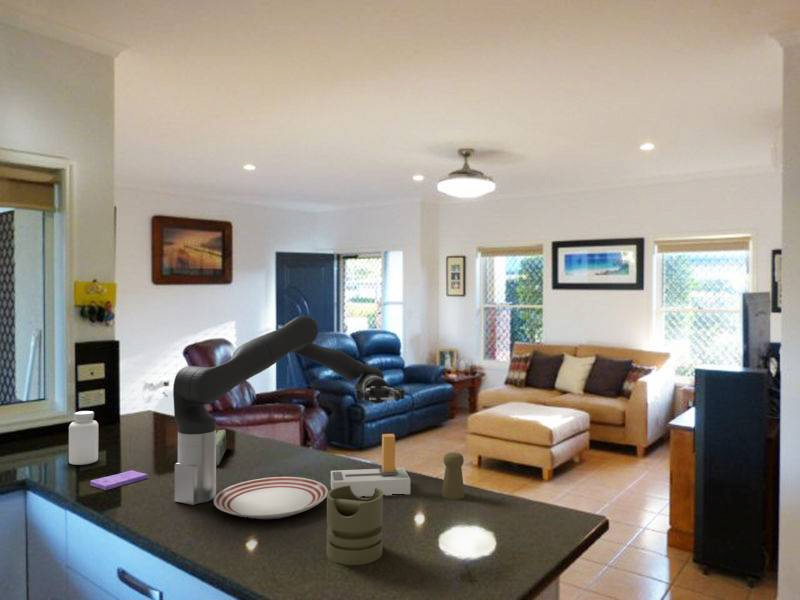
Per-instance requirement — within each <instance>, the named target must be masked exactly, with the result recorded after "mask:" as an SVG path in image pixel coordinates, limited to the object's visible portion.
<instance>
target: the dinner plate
mask: <svg viewBox="0 0 800 600" xmlns="http://www.w3.org/2000/svg"><path fill="white" fill-rule="evenodd" d="M328 492H329V489H328V488H327V486H326V485H325V484H324V483H321V482H320V481H317V480H314V479H310V478H305V477H299V476H298V477H297V476H275V477H264V478H263V477H262V478H258V479H257V478H256V479H249V480H245V481H241V482H239V483H236V484H233V485H229V486H228V487H225V488H224V489H222V490H220V491H219V492H218V493H216V496H215V498H214V499H213V504H214V506H215V507H216V509H218V510H220V511H221V512H224V513H227V514H229V515H234V516H237V517H242V518H247V517H248V518H249V519H254V518H256V519H257V520H273V519H283V518H288V517H292V516H295V515H297V514H300V513H303V512H306V511H308V510H310V509H312V508H314V507H316V506H317V505H319V504H320V503H322V502H323V501H324V500H325V499H327V493H328ZM256 519H255V520H256Z"/></svg>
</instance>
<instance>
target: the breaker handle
mask: <svg viewBox="0 0 800 600" xmlns="http://www.w3.org/2000/svg"><path fill="white" fill-rule="evenodd" d="M395 459H396V436H395V434H394V433H382V435H381V467H379V468H378V469H379V472H380V474H381V475H398V472H397V470H396V468H397V467H395V466H396V460H395Z"/></svg>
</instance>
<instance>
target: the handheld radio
mask: <svg viewBox="0 0 800 600" xmlns="http://www.w3.org/2000/svg"><path fill="white" fill-rule="evenodd" d="M226 450H227V432H226V429H219V430H217V431H216V467H217V465H218V466H220V463H221V461H222V459H223V457H224V454H225V452H226Z"/></svg>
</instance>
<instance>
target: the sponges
mask: <svg viewBox="0 0 800 600" xmlns="http://www.w3.org/2000/svg"><path fill="white" fill-rule="evenodd" d="M148 477H149V476H148V474H147V473H144V472H139V471H135V470H132V469H131V470H128V471H124V472H121V473H117V474H112V475H109V476H104V477H100V478H96V479H92V480H90V483H89V484H90V487H94V488H97V489H99V490H103V491H109V490H111V489H114V488H118V487H122V486H125V485H129V484H132V483H135V482H139V481H144V480H146V479H147V478H148Z"/></svg>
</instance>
